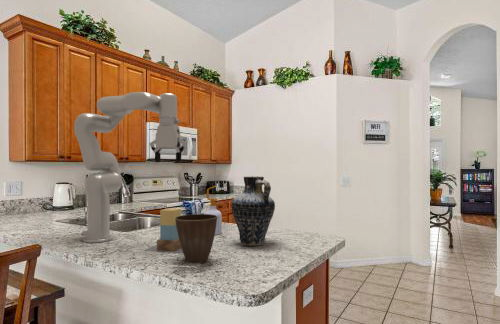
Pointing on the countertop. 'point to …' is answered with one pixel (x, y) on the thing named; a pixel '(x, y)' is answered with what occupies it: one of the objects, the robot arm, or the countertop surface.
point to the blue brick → (168, 232)
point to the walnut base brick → (168, 245)
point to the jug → (253, 211)
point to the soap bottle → (215, 213)
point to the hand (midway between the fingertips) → (168, 162)
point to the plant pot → (196, 236)
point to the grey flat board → (162, 251)
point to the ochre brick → (169, 216)
